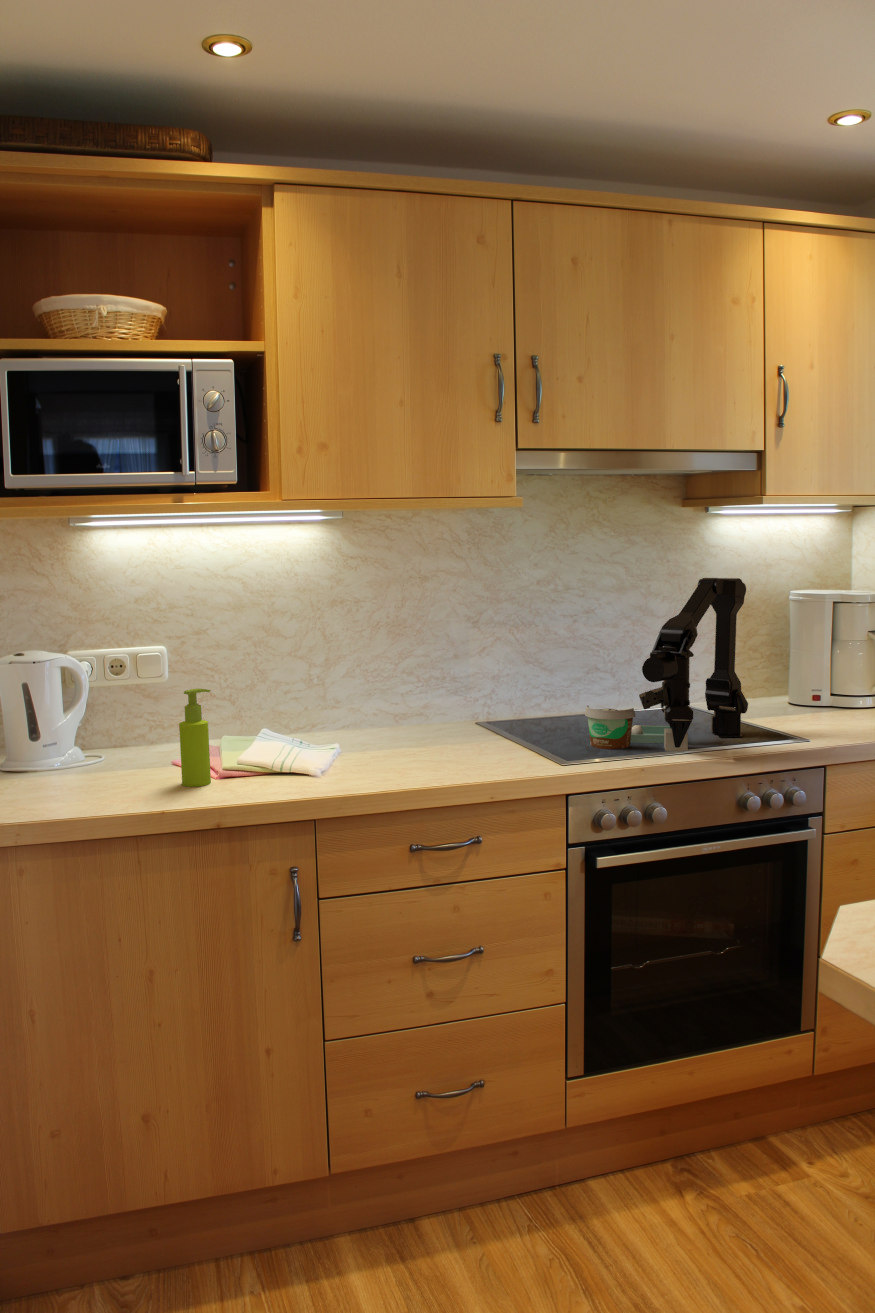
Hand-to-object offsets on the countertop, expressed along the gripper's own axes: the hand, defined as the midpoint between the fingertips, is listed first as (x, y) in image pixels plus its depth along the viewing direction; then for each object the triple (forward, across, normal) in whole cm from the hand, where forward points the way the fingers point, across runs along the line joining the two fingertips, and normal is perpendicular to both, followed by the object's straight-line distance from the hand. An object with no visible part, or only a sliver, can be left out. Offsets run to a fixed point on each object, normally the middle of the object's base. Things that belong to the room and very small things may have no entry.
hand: (675, 743), depth 219 cm
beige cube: (+2, 0, 0) cm, 2 cm away
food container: (+2, 0, -16) cm, 16 cm away
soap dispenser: (+2, +41, -101) cm, 109 cm away
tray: (+2, -12, -5) cm, 13 cm away
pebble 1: (+1, -14, -8) cm, 16 cm away
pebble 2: (+1, -10, -8) cm, 13 cm away
